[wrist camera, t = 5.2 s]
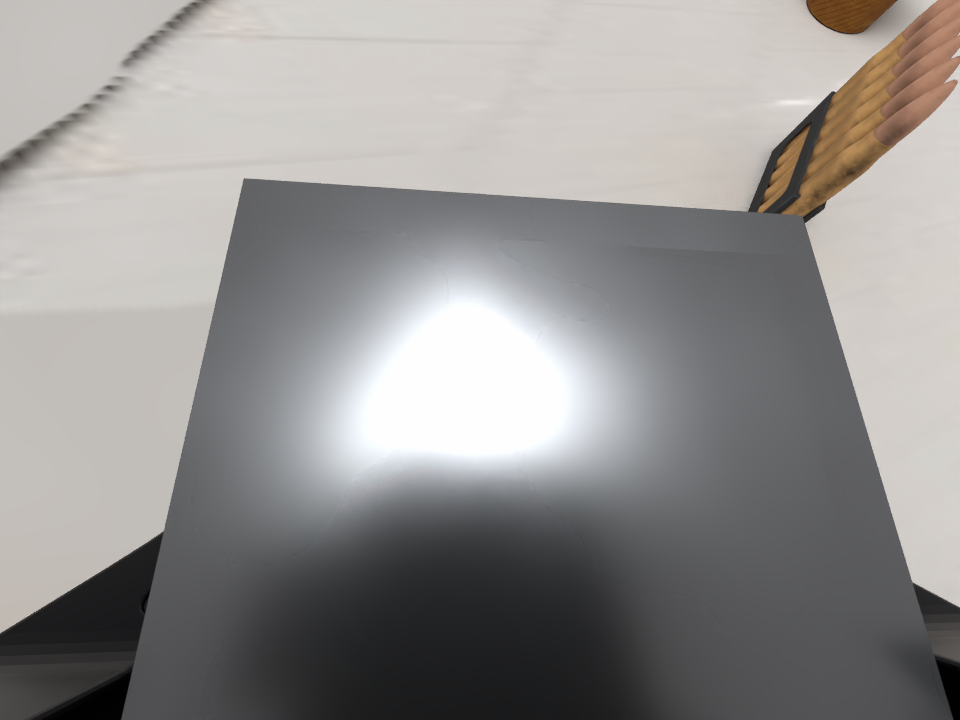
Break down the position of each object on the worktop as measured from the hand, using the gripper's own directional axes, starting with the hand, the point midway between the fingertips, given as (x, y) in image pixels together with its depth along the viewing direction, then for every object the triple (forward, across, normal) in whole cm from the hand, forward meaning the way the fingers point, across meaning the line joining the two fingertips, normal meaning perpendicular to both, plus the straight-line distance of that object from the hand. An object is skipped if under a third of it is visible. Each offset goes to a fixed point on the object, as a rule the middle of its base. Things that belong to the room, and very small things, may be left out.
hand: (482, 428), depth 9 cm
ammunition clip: (+23, -23, -4) cm, 33 cm away
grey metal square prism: (+4, 0, +6) cm, 7 cm away
